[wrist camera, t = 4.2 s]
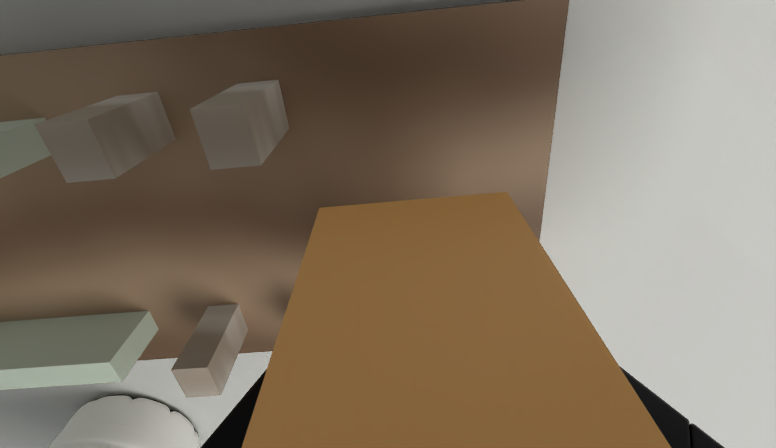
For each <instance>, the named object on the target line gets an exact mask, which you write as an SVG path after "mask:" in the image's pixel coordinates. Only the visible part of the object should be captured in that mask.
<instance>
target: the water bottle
mask: <svg viewBox="0 0 776 448" xmlns="http://www.w3.org/2000/svg"><path fill="white" fill-rule="evenodd" d="M198 446H199V438H198V434H197V433H196V432H195V431H194V427H193V425H192V424H191V422H190V421H189V420H188V419H187V418H185V417H184V416H183V415H182V414H180V413H179V412H176V411H173V412H170V410H169V408H168V407H167V406H166V405H164V404H161V403H159V402H156V401H153V400H149V399H145V398H137V399H134V400H132V398H131V397H129V396H107V397H103V398H100V399H98V400H96V401H90V402H88V403H86V404H85V405H83V406H82V407H81V408H80V409H79V410H78V411H77V412H76V413H75V414H74V415H73V416H72V418H71V419H70V420H69V422H68V423H67V424H66V426H65V427H64V428H63V430H62V431H61V432H60V434H59V435H58V436H57V437H56V438H55V439H54V441H53V442H52V443H51V445H50V446H49V448H198Z"/></svg>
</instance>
